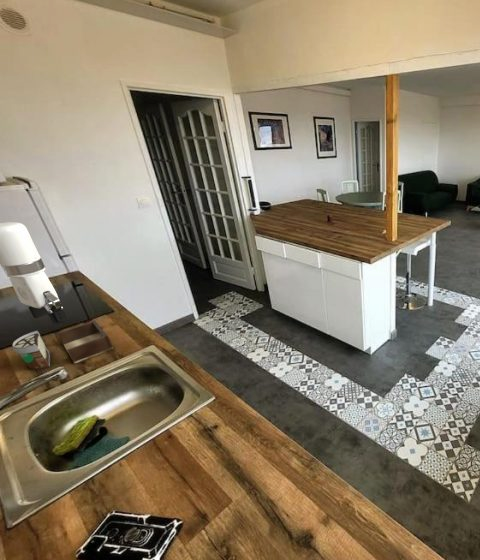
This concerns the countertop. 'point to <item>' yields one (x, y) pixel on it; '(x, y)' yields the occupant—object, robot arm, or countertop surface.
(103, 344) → the open brown box
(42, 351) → the food container
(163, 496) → the countertop surface
